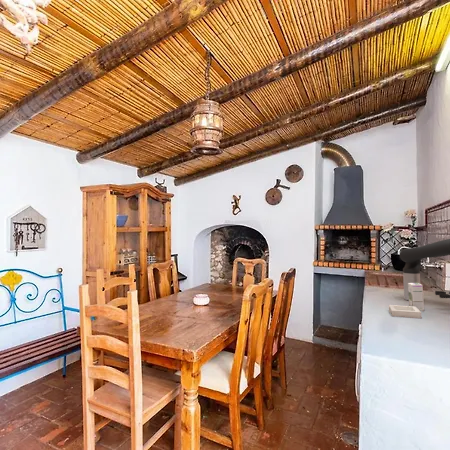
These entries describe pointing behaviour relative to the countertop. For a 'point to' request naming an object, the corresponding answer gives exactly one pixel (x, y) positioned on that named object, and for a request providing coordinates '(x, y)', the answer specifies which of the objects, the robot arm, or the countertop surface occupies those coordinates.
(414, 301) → the syrup box
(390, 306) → the square stand
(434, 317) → the countertop surface
